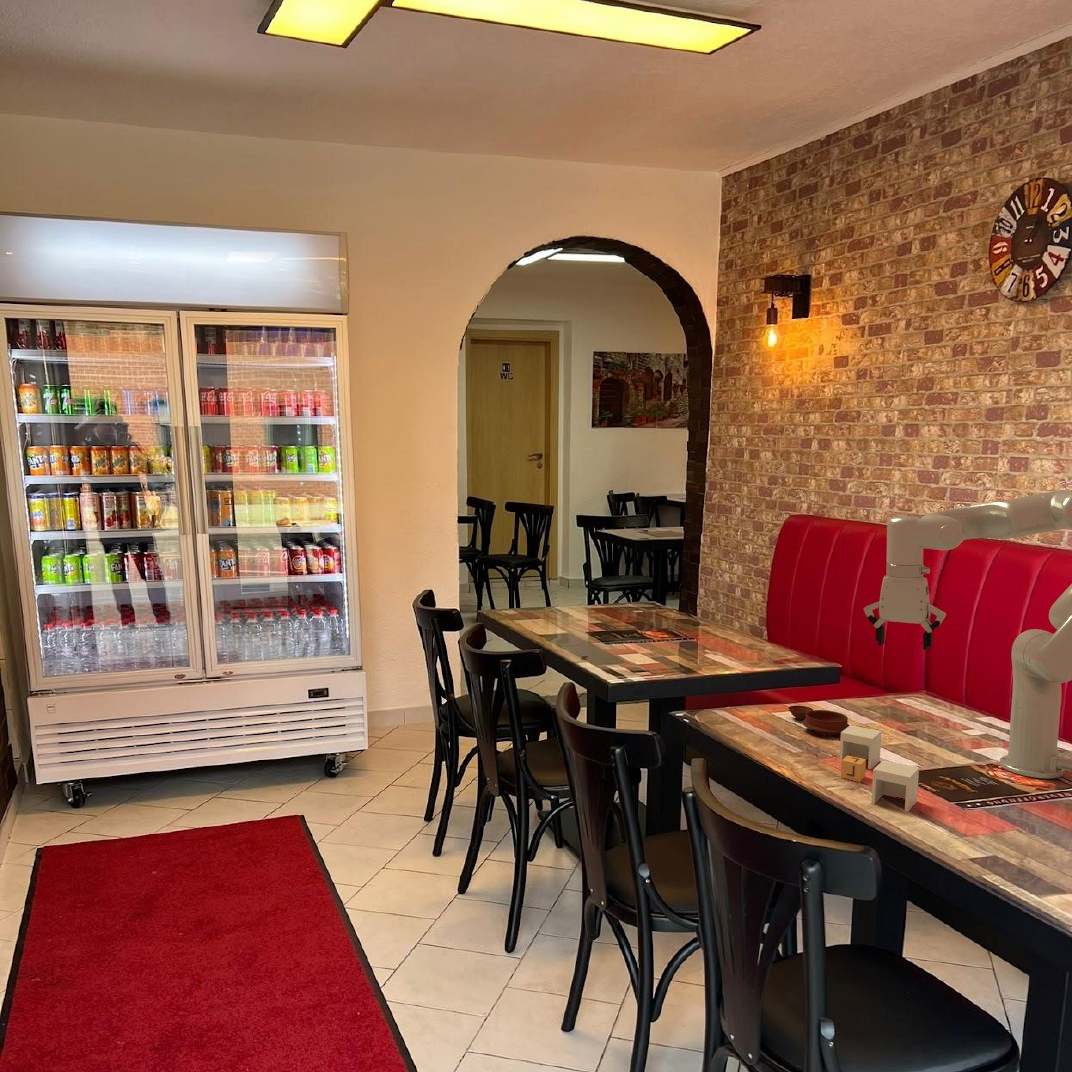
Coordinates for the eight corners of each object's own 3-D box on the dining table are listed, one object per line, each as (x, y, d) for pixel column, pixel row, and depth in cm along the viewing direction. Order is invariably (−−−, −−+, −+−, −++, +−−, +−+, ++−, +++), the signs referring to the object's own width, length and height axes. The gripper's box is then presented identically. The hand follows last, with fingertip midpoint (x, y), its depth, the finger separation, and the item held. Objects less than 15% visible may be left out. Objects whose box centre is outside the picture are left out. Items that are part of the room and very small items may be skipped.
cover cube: (879, 761, 205) (881, 731, 205) (870, 769, 200) (872, 738, 199) (848, 754, 209) (850, 725, 209) (839, 762, 204) (840, 732, 203)
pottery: (820, 741, 219) (820, 724, 218) (774, 718, 238) (775, 702, 237) (860, 738, 222) (861, 720, 222) (812, 715, 241) (812, 699, 241)
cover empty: (917, 801, 182) (919, 767, 181) (907, 812, 176) (910, 777, 175) (881, 792, 186) (883, 760, 185) (871, 803, 180) (873, 769, 179)
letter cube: (865, 777, 195) (866, 759, 195) (859, 782, 192) (860, 764, 191) (846, 773, 197) (847, 755, 197) (840, 778, 194) (841, 760, 194)
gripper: (949, 571, 199) (948, 647, 200) (869, 567, 209) (868, 640, 210) (942, 576, 193) (941, 654, 194) (860, 571, 203) (859, 646, 204)
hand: (903, 646), depth 202 cm, fingers open, 9 cm apart
